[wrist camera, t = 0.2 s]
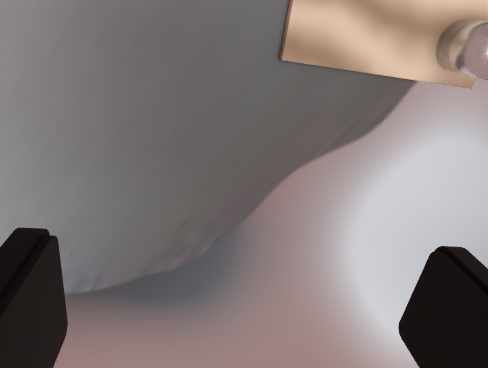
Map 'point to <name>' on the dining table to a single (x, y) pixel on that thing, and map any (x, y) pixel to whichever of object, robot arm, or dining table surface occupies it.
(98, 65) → the dining table surface
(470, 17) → the wooden board
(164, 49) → the dining table surface
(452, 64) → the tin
